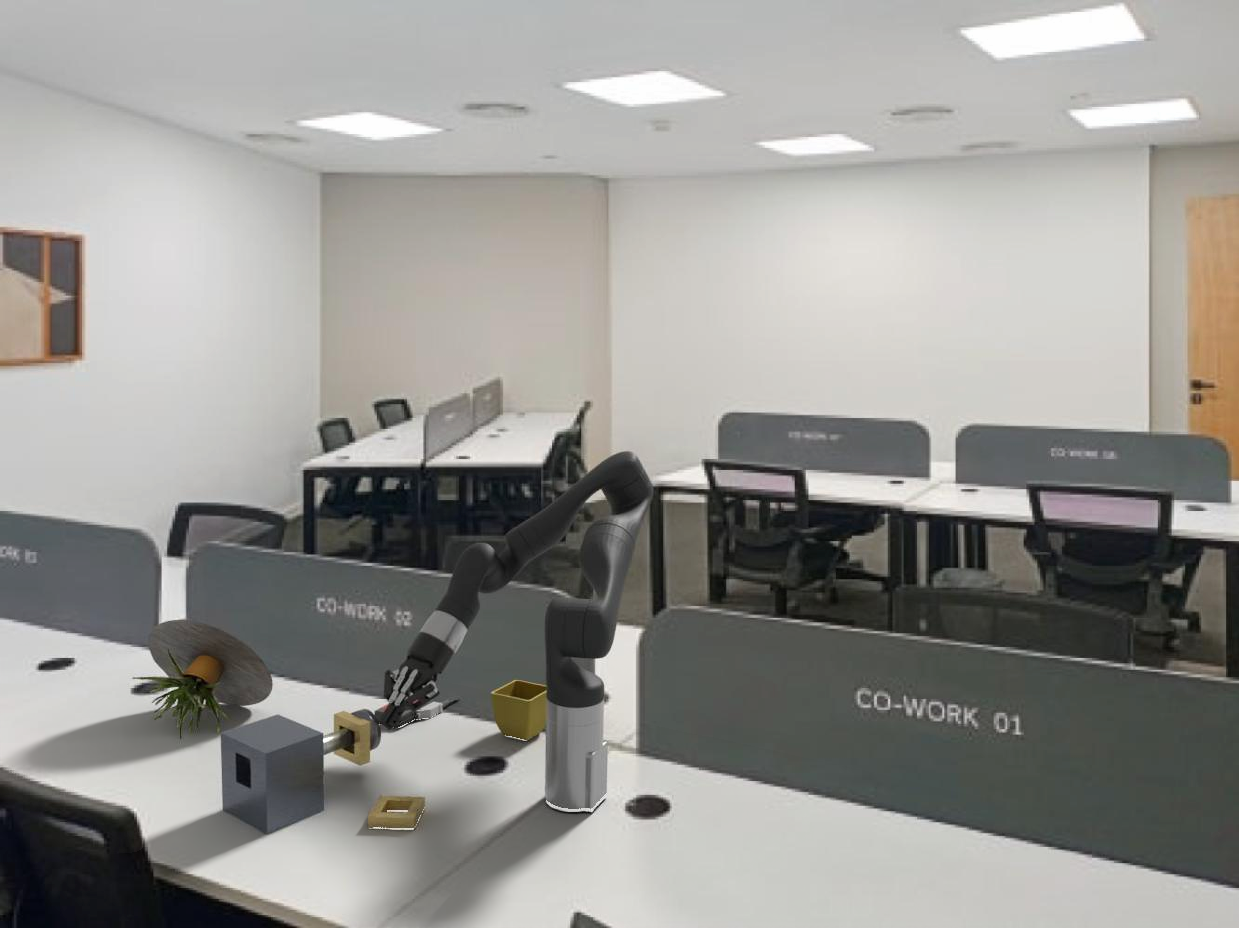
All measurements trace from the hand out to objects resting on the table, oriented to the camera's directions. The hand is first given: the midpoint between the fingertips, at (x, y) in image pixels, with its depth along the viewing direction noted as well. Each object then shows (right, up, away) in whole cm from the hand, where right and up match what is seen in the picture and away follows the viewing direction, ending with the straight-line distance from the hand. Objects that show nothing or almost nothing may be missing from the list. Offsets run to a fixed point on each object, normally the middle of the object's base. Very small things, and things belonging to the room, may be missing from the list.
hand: (384, 726), depth 169 cm
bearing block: (-13, -9, -17) cm, 23 cm away
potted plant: (-39, -4, +18) cm, 43 cm away
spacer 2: (+6, -9, -18) cm, 22 cm away
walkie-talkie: (+1, -5, +26) cm, 26 cm away
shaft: (-8, -4, -10) cm, 14 cm away
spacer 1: (-4, 0, -6) cm, 7 cm away
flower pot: (+22, -6, +15) cm, 27 cm away
